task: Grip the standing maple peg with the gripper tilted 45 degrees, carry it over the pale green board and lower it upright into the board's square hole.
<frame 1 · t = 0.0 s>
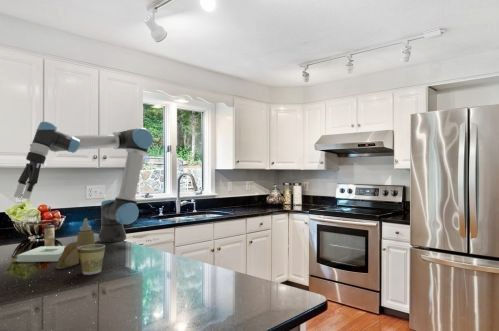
hand: (21, 198, 164), 28 cm above the counter, tool tilted 20°, fingers open, 13 cm apart
socket board: (49, 256, 169), on the counter
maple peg: (49, 249, 186), on the counter
squeeze bottle: (86, 258, 165), on the counter
rock: (67, 266, 152), on the counter
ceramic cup: (94, 271, 143), on the counter
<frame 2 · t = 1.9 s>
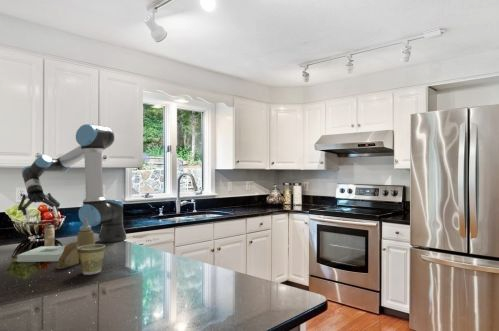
hand: (42, 217, 194), 15 cm above the counter, tool tilted 45°, fingers open, 13 cm apart
nothing on the counter moved.
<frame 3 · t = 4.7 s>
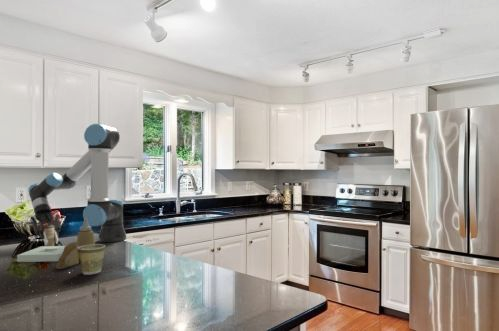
hand: (51, 242, 184), 4 cm above the counter, tool tilted 45°, fingers closed on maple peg, 4 cm apart
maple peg: (49, 249, 186), on the counter, touching gripper
everything else where it was.
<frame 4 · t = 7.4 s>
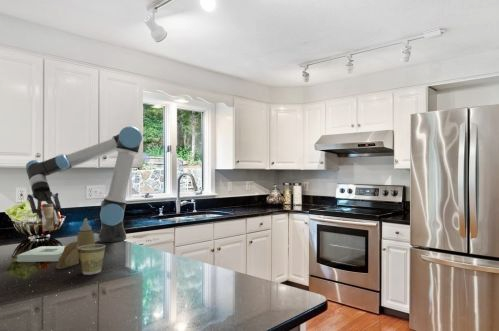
hand: (50, 222, 167), 16 cm above the counter, tool tilted 45°, fingers closed on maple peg, 4 cm apart
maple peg: (48, 229, 169), point 12 cm above the counter, touching gripper
everything else where it was.
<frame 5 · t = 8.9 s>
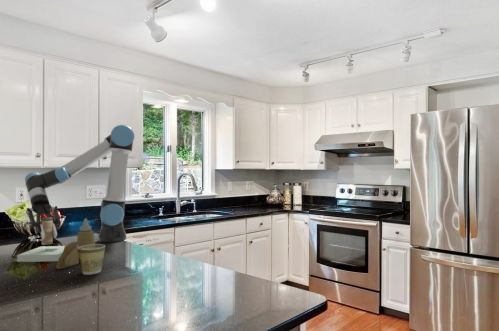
hand: (49, 236, 166), 10 cm above the counter, tool tilted 45°, fingers closed on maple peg, 4 cm apart
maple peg: (47, 243, 169), point 6 cm above the counter, touching gripper
everything else where it was.
when the fingers open (5 cm above the counter, at t = 10.3 s): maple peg drops 1 cm, resting in socket board.
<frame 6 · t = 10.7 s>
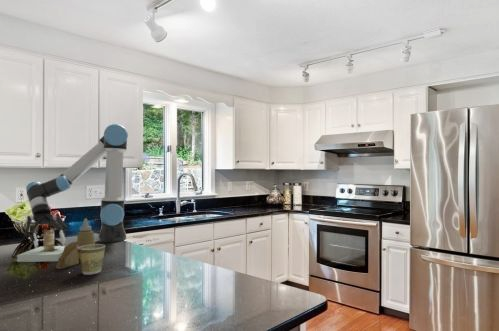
hand: (50, 244, 167), 6 cm above the counter, tool tilted 45°, fingers open, 11 cm apart
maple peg: (49, 256, 169), resting in socket board
everything else where it was.
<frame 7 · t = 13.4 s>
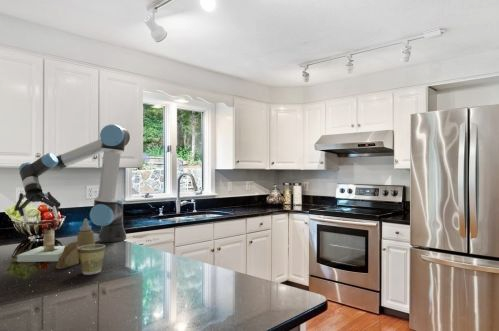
hand: (41, 219, 177), 17 cm above the counter, tool tilted 45°, fingers open, 13 cm apart
nothing on the counter moved.
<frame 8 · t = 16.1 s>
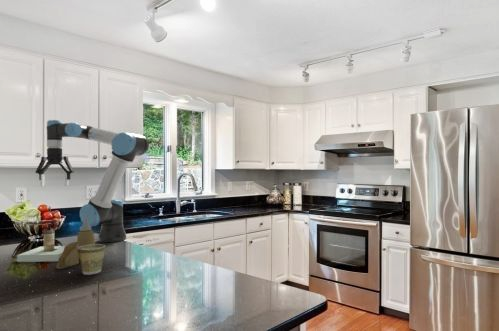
hand: (55, 185, 203), 32 cm above the counter, tool pointing down, fingers open, 13 cm apart
nothing on the counter moved.
at the end: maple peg 0.1 cm off-centre on the socket board, point 0.0 cm above the socket board's base; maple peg tilted 0°; the gripper is holding nothing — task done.
